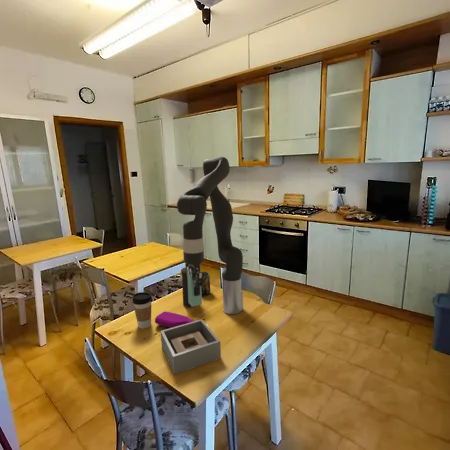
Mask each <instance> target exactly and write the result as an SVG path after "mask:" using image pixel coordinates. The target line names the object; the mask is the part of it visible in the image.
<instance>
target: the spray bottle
mask: <svg viewBox="0 0 450 450" xmlns="http://www.w3.org/2000/svg"><path fill="white" fill-rule="evenodd" d="M194 321H195V320H194V319H192V318H190V317H188V316H186V315H183V314H179V313H176V312H171V311H163V312H161V313H159V314H158V315H157V316H155V319H154V323H155V324H156V325H160V326H164V327H167V328H173V327H176V326H180V325H183V324H187V323H190V322H194ZM206 325H207V326H208V327H209V324H207V323H206ZM209 328H210V327H209Z"/></svg>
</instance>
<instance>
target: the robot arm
mask: <svg viewBox="0 0 450 450" xmlns="http://www.w3.org/2000/svg"><path fill="white" fill-rule="evenodd" d="M230 167H231V166H230V162H229V160H228V158H227V157H225V156H216V157H211V158H206V159H204V160H203V163H202V170H203V175H204V176H203V177H201V178H200V179H199V180H198V181H196V182H195V184H194V185H193V187H191V188H190V189H189V190H187V191H186V192H184V193H183V194H181V195H180V196H179V198H178V199H177V202H176V210H177V211H178V212H179V214H181V215H183V216H194V219H193V220H188V221H186V222H184V223H183V225H182V231H183V233H182V235H183V236H182V237H183V241H182V250H183V263H184V264H185V266H184V267H186V273H191V276H192V280H193V286H194V296H199V295H200V286H203V278H204V273H203V272H204V271H202V269H201V264H202V263H204V262H205V254H204V252H205V249H204V247H205V244H204V234H203V232H204V231H203V227H204V226H203V225H204V220H205V216H206V212H207V208H208V203H207V201H208V199H209V200H210V207H211V212H212V217H213V222H214V229H215V234H216V239H217V240H216V241H217V253H218V258H219V261H221V262H222V263H224V264H225V267H226V269H225V270H223V272H222V273H221V275H222V276H221V278H222V279H221V280H222V308H223V312H224V313H225V314H228V315H236V314H239V313H241V312H242V311H244V293H243V291H242V273H243V269H244V268H243V263H244V260H243V259H244V258H243V257H244V256H243V252H242V250H241V249H240V248H239V247H236V246H234V245H233V242H232V237H231V230H232V228H233V222H234V215H233V210H232V208H233V207H232V204H231V203H230V201H229V200H228V198H227V197H226V196H225V195H224V194H223V193H222V191H221V190H220V189H219V186H218V185H220V184H221V182H223V181H224V180H225V179H226V178H227V177H228V176H229V173H230ZM194 277H196V278H194ZM187 279H188V277H187ZM195 281H196V282H195Z"/></svg>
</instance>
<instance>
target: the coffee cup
mask: <svg viewBox="0 0 450 450" xmlns="http://www.w3.org/2000/svg"><path fill="white" fill-rule="evenodd" d="M152 298H153V297H152V295H151V293H149V292H145V291H143V292H136V293H134V294H133V295H132V304H133V309H134V313H135V318H136V322H137V327H138V328H139V329H147V328H149V327H151V325H152Z"/></svg>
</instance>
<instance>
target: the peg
mask: <svg viewBox="0 0 450 450" xmlns="http://www.w3.org/2000/svg"><path fill="white" fill-rule="evenodd" d="M187 277H188V303H189V304H190V305H191V306H192V307H191V308H193V306H194V307H197V306H201V305H202V304H203V296H202V289H201V286H200V295H199V296H194V286H193V280H192V276H191V273H187ZM194 278H196V277H194ZM195 282H196V281H195Z"/></svg>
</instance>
